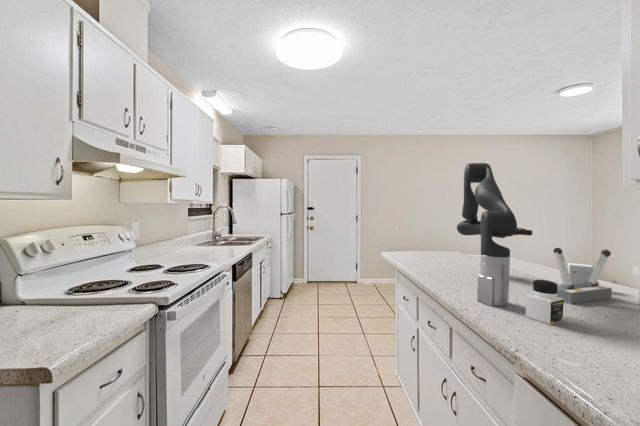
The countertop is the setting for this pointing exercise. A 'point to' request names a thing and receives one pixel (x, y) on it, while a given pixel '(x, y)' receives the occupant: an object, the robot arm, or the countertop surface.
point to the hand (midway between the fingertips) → (531, 232)
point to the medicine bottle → (544, 303)
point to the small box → (579, 272)
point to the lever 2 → (599, 266)
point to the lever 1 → (562, 267)
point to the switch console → (583, 292)
